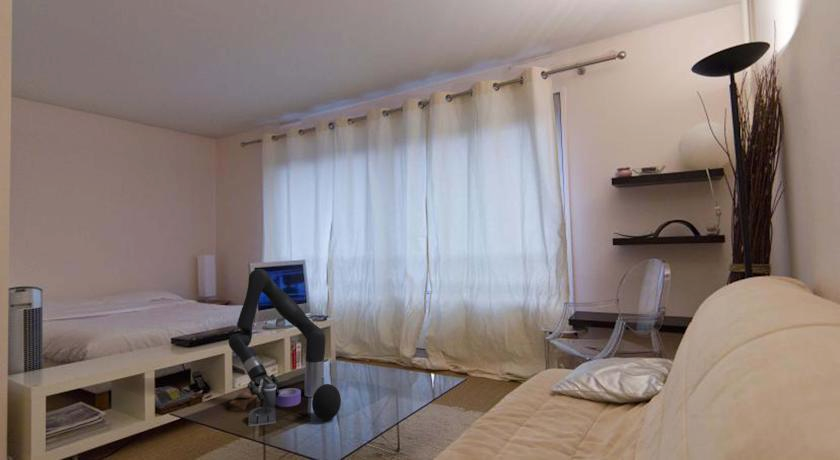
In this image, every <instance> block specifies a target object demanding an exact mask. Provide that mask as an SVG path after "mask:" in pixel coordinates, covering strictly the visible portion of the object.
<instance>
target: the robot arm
mask: <svg viewBox="0 0 840 460" xmlns="http://www.w3.org/2000/svg"><path fill="white" fill-rule="evenodd" d="M247 283H248V284H247V289H246V290H247V291H246V294H245V296H246V297H245V299H244V302H243V305H242V307H241V310H240V313H239V317H238V320H237V323H236V326H237V328H239V329H240V333H233V334H231V335H230V336H229V338H228V345H229V348H230V350H231V351H232V352H233V353H234V354H235V355H236V356H237V357H238V358H239V359H240V361H241V363H242V364H243V368H244V370H245V372H246V373H247V376H248V378H249V379H250V381H249V382H248V384H247V388H248V391H249V392H251V394H252V395H257V396H258V398H257V399H258V400H259V402H260V403H263V401H264V400H265V398H264V396H263V395H264V393H263V392H262V389H264V385H266V384H270V383H272V384H276V394H275V397H276V396H278V395H279V394H280V392H279V390H280V389H279V388H278V386H279V385H280V382H279V380H278V379H277V377H276V376H275V374H273V373H272V374H271V375H268V372H267V370H266V368H265V366H264V364H263V363H262V361H261V359H260V358H259V357H258V355H257V353H256V351H255V350H254V348H252V347H250V346H249V345H250V344H251V342H252V340H253V339H252V336H253V325H254V324H253V323H254V321H255V317H256V314H257V309H258V304H259V301H260V300H259V299H260V296H261V295H262V293H263V294H264V295H265V296H266V297H267V299H268V301H270V303H271V305H272V306H273V308H274V309H275V310H276V312H278V314H279V315H280V316H281V317H282V318H283V319H284V320H286V321H287V322H288V323H289V324H290V325H292V326H294V327H295V328H297V330H299V331H300V333H301V334H302V336H304V338H305V339H306V346H305V347H306V348H305V364H304V366H305V368H304V390H303V392H304V397H307V398H313V396H314V393H315V391H316V390H317V389H318V388H319V387H320V386H322V385H324V384H325V375H324V373H325V372H324V370H325V366H324V365H325V355H326V354H325V353H326V335H325V333H324V331H323V330H322V329H321V328H320V327H319V326H318V325H316V324H315V323H314V322H313V321H312V320H311V319H310V318H309V317H308V316H307V314H305V311H303V309H302V308H301V307H300V306H299V305H298V303H297V302H295V300H294V299H293V298H292V297H291V296H289V295H288V294H287V293H286V292H285V291H284V290H282V288H280V287H279V285H277V284H276V282H275V281H274V280H273V279H272V277H271V276H270V274H269V273H268V272H267V271H266V270H265V269H263V268H257V269H254V270H252V271H251V272H250V273H249V275H248V282H247Z"/></svg>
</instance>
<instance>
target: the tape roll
mask: <svg viewBox="0 0 840 460" xmlns="http://www.w3.org/2000/svg"><path fill="white" fill-rule="evenodd" d="M278 390H279V392H280V394H279V395H278V396H275V406H277V407H285V408H288V407H289V408H290V407H294V406H298V405H299V404H300V403H301V401H302V399H301V397H302V396H301V395H302V390H301V389H299V388H296V387H295V388H293V387H288V388H282V389H278Z"/></svg>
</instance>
